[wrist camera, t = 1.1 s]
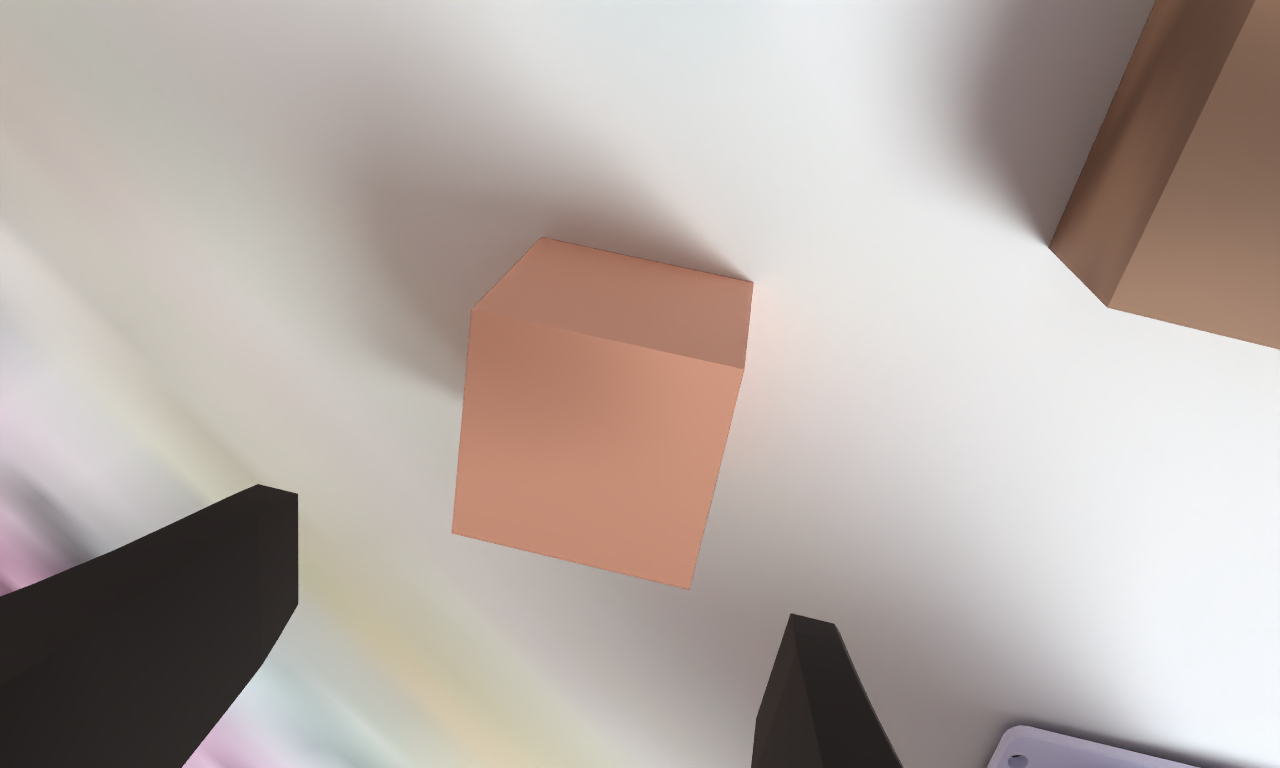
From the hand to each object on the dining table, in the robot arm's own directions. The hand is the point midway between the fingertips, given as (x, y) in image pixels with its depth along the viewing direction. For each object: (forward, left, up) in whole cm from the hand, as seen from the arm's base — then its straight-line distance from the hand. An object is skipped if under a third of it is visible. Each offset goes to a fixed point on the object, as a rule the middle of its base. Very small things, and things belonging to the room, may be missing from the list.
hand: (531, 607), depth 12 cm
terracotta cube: (0, 0, -10) cm, 10 cm away
